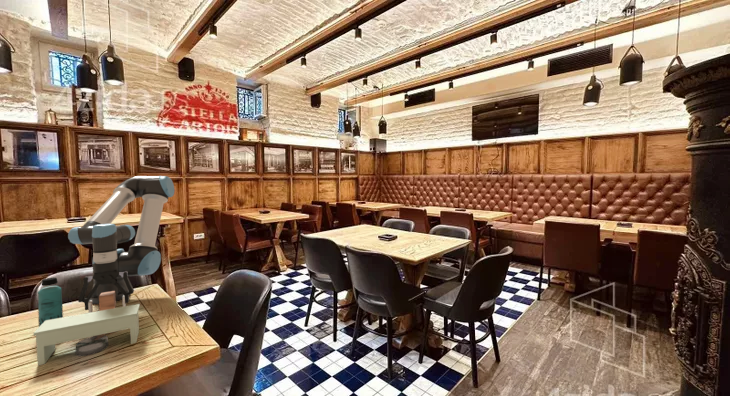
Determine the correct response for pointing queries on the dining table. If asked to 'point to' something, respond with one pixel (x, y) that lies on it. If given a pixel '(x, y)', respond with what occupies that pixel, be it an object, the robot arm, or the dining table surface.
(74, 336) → the shelf
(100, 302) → the paddle
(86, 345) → the puck
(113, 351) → the dining table surface
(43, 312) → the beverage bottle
